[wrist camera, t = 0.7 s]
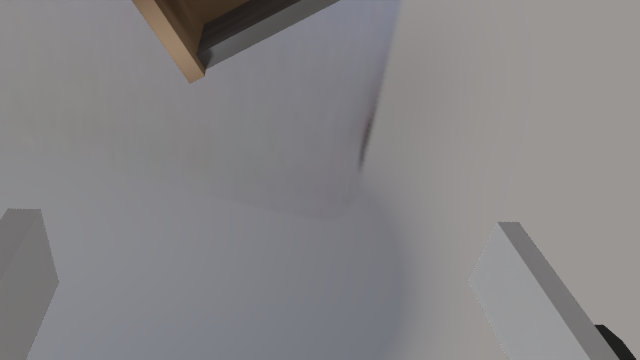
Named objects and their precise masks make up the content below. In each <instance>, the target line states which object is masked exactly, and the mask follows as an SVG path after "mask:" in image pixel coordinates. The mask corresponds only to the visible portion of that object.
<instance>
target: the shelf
mask: <svg viewBox="0 0 640 360" xmlns="http://www.w3.org/2000/svg"><path fill="white" fill-rule="evenodd" d="M132 1H133V3H134V4H135V6H136V7H137V9H138V10H139V11H140V13H141V14H142V16H143V17H144V19H145V20H146V21H147V23H148V24H149V26H150V27H151V29H152V30H153V32H154V33H155V34H156V36H157V37H158V39H159V40H160V42H161V43H162V44H163V46H164V47H165V49H166V50H167V52H168V53H169V54H170V56H171V57H172V59H173V60H174V62H175V63H176V64H177V66H178V67H179V69H180V70H181V72H182V73H183V75H184V76H185V77H186V79H187V80H188V82H189V83H192V82H194V81H196V80H198V79H200V78H202V77H204V76H205V71H206V69H208V68H210V67H212V66H214V65H215V64H217V63H219V62H221V61H223V60H225V59H227V58H229V57H231V56H233V55H235V54H237V53H239V52H241V51H243V50H245V49H246V48H248V47H250V46H252V45H254V44H256V43H258V42H260V41H262V40H264V39H266V38H268V37H270V36H272V35H274V34H276V33H277V32H279V31H281V30H283V29H285V28H287V27H289V26H291V25H293V24H295V23H297V22H299V21H301V20H303V19H305V18H307V17H308V16H310V15H312V14H314V13H316V12H318V11H320V10H322V9H324V8H326V7H328V6H330V5H332V4H334V3H336V2H337V1H339V0H132Z"/></svg>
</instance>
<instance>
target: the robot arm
mask: <svg viewBox="0 0 640 360" xmlns="http://www.w3.org/2000/svg"><path fill="white" fill-rule="evenodd" d="M58 283H59V280H58V277H57V273H56V269H55V265H54V261H53V257H52V253H51V249H50V245H49V241H48V237H47V233H46V229H45V225H44V221H43V217H42V213H41V210H40V209H7V211H6V212H5V214H4V215H3V217H2V219H1V220H0V360H26V358H27V356H28V353H29V351H30V349H31V347H32V344H33V342H34V339H35V337H36V335H37V332H38V330H39V328H40V325H41V323H42V321H43V318H44V316H45V314H46V311H47V309H48V307H49V304H50V302H51V299H52V297H53V295H54V293H55V290H56V288H57V286H58ZM469 284H470V286H471V288H472V290H473V292H474V294H475V296H476V297H477V299H478V301H479V303H480V305H481V307H482V309H483V311H484V313H485V315H486V317H487V319H488V321H489V323H490V325H491V327H492V329H493V330H494V332H495V334H496V336H497V338H498V340H499V342H500V344H501V346H502V348H503V350H504V352H505V354H506V355H507V358H508V359H509V360H636V358H635V357H634V356H633V354H632V353H631V352H630V350H629V349H628V348H627V347H626V345H625V344H624V343H623V341H622V340H621V339H619V338H618V337H617V336H616V335H615V334H613V333H612V332H611V331H610V330H609V329H608V328H606V327H605V326H604V325H594V324H593V323H592V322H591V321H590V319H589V317H588V316H587V315H586V313H585V312H584V311H583V309H582V308H581V307H580V305H579V304H578V302H577V301H576V300H575V298H574V297H573V296H572V294H571V293H570V292H569V290H568V289H567V287H566V286H565V285H564V283H563V282H562V281H561V279H560V278H559V277H558V275H557V274H556V272H555V271H554V270H553V268H552V267H551V266H550V264H549V263H548V262H547V260H546V259H545V257H544V256H543V255H542V253H541V252H540V251H539V249H538V248H537V247H536V245H535V244H534V243H533V241H532V240H531V238H530V237H529V236H528V234H527V233H526V232H525V230H524V229H523V227H522V226H521V225H520V223H519V222H497V223H496V225H495V227H494V229H493V232H492V233H491V236H490V238H489V240H488V242H487V244H486V246H485V248H484V250H483V252H482V255H481V257H480V259H479V261H478V263H477V265H476V267H475V269H474V272H473V274H472V276H471V278H470V280H469Z"/></svg>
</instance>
